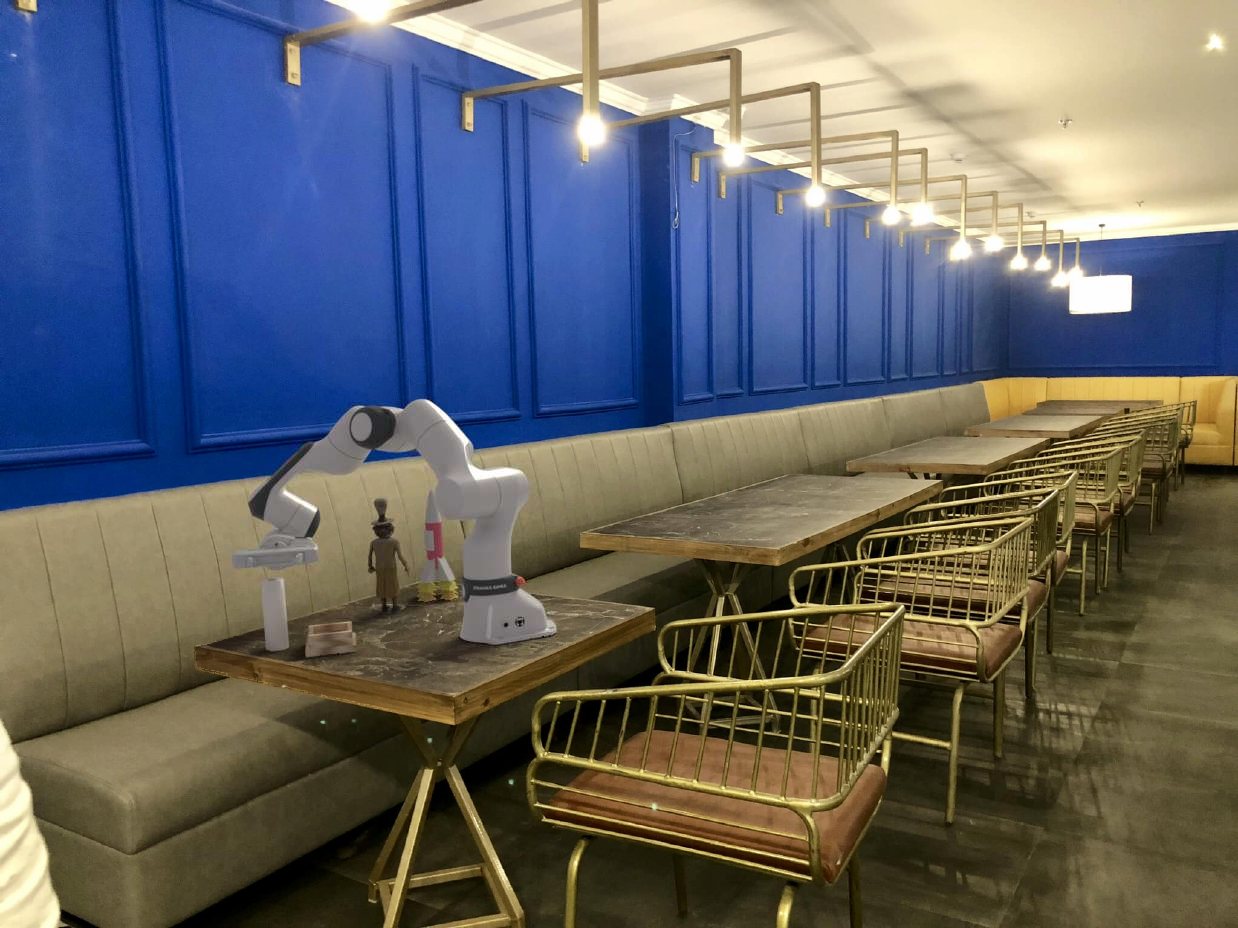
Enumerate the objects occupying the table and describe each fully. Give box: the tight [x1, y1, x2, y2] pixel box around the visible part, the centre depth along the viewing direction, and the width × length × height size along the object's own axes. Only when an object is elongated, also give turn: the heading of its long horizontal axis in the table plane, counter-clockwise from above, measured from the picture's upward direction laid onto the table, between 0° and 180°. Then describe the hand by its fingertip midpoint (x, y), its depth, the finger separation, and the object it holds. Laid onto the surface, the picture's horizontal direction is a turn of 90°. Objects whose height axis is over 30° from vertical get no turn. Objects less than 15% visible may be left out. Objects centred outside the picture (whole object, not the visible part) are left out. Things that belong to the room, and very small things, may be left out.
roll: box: [260, 576, 290, 652], centre depth 227 cm, size 5×5×16 cm
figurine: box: [367, 497, 411, 614], centre depth 258 cm, size 11×9×30 cm
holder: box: [304, 620, 358, 658], centre depth 226 cm, size 11×11×4 cm
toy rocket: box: [416, 488, 459, 603], centre depth 271 cm, size 12×12×30 cm
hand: (274, 562), depth 238 cm, fingers open, 8 cm apart
